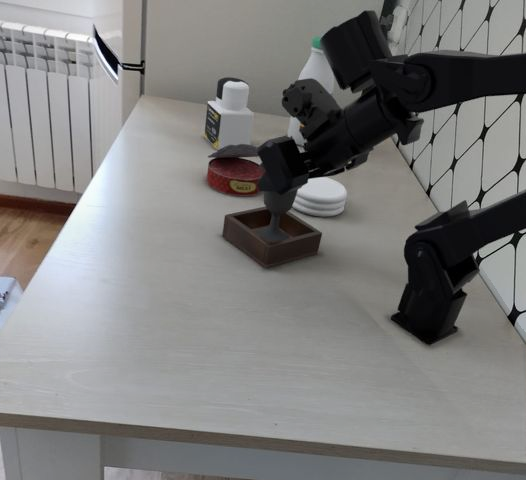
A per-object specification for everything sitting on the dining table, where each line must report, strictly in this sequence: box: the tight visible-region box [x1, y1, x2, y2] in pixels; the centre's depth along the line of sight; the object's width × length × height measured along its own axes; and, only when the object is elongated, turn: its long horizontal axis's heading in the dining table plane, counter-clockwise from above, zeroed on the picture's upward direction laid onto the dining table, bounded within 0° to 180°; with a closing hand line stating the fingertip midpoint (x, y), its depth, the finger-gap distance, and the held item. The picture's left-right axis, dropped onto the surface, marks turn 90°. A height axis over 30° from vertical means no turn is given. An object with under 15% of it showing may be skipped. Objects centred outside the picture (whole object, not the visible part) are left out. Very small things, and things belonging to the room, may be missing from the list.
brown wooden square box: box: [221, 205, 323, 270], centre depth 85 cm, size 10×10×4 cm
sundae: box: [256, 136, 298, 243], centre depth 80 cm, size 7×7×15 cm
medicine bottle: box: [204, 76, 255, 151], centre depth 114 cm, size 7×7×12 cm
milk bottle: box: [287, 36, 335, 146], centre depth 120 cm, size 8×8×20 cm
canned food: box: [206, 144, 264, 197], centre depth 100 cm, size 11×10×10 cm
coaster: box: [292, 177, 348, 218], centre depth 99 cm, size 10×10×4 cm
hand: (273, 182), depth 81 cm, fingers closed on sundae, 6 cm apart
